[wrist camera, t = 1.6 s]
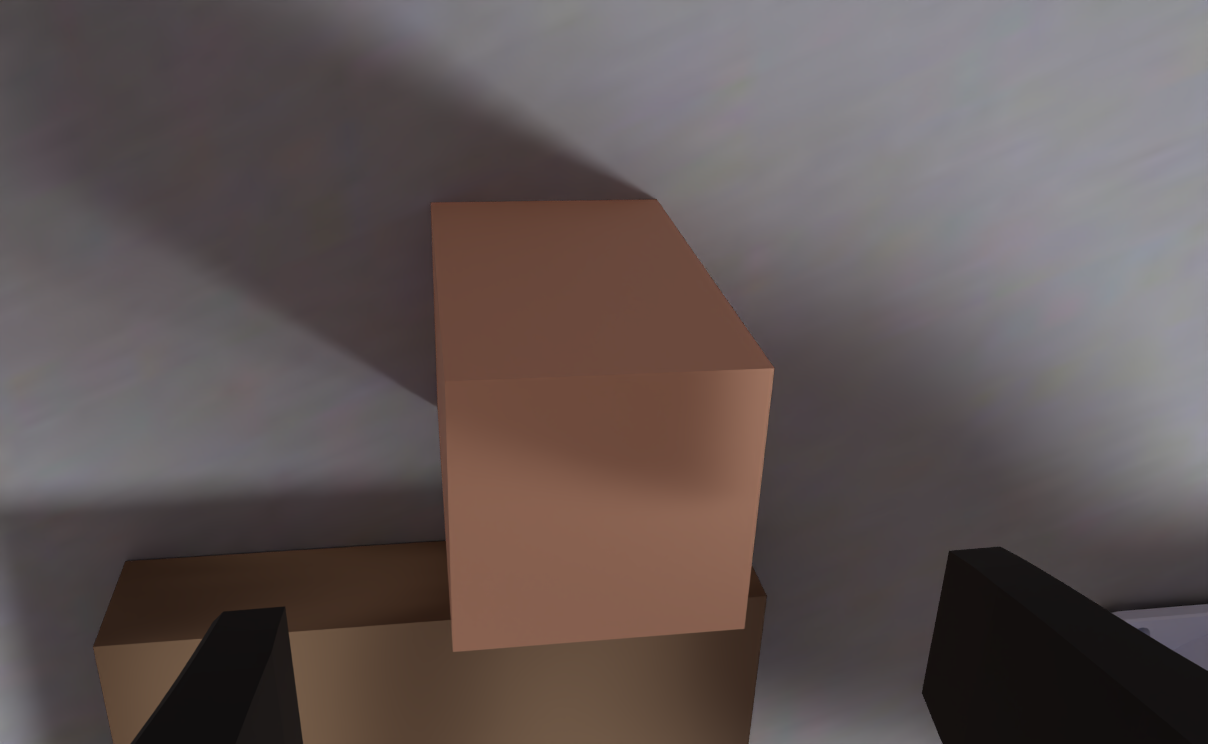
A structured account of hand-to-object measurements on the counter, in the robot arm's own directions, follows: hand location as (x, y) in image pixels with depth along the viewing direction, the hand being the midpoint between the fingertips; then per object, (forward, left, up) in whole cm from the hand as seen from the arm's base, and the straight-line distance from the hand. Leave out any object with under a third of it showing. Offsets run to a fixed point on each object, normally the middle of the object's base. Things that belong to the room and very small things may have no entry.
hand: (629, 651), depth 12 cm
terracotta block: (0, 0, -9) cm, 9 cm away
